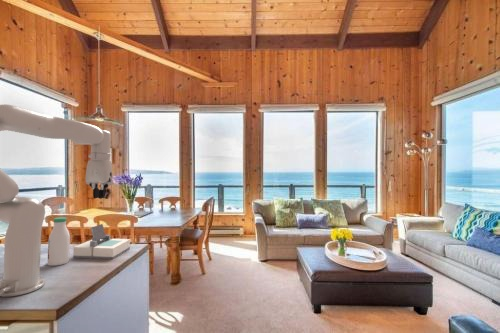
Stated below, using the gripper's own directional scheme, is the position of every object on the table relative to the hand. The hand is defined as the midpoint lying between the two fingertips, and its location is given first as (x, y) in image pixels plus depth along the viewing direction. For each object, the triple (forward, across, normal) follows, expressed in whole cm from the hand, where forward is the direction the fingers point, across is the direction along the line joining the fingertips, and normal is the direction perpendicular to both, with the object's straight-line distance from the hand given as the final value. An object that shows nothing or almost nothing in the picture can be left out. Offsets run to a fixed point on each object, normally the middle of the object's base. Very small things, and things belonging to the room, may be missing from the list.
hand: (99, 197), depth 115 cm
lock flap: (+20, -8, +13) cm, 25 cm away
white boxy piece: (+29, -5, +13) cm, 32 cm away
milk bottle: (+29, -16, -2) cm, 33 cm away
